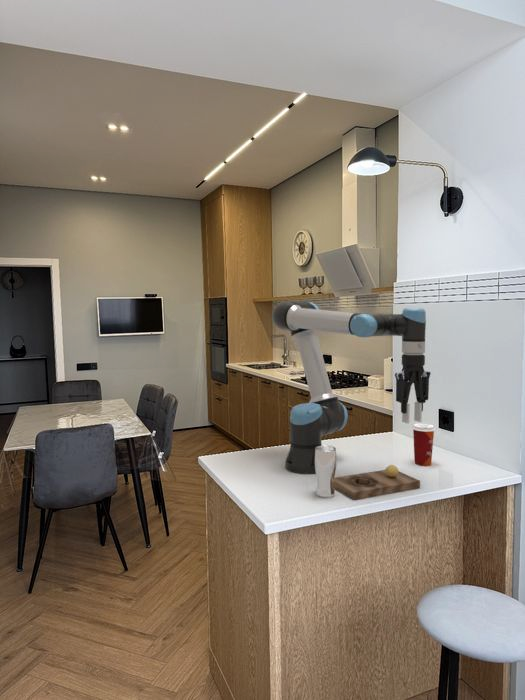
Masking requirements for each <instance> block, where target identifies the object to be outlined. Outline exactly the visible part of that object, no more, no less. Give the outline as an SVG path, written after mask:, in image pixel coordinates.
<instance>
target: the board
mask: <svg viewBox="0 0 525 700" xmlns="http://www.w3.org/2000/svg"><path fill="white" fill-rule="evenodd" d="M420 488H421V480H419V479H418V478H415V477H412V476H410V475H408V474H406V473H404V472H402V471H399V470H398V474H397V475H396V476H395V477H390V476H388V475H387V473H386V469H381V470H375V471H374V470H373V471H370V472H369V471H368V472H362V473H356V474H351V475H344V476H339V477H337V476H336V477H334V490H336V491H337V492H339V493H341V494H343V495H345V496H346V497H347V498H350V499H351V500H353V501H357V500H362V499H363V500H364V499H368V498H374V497H380V496H386V495H390V494H396V493H401V492H406V491H412V490H418V489H420Z"/></svg>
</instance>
